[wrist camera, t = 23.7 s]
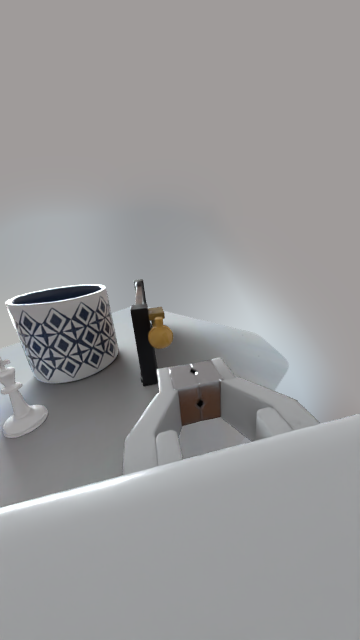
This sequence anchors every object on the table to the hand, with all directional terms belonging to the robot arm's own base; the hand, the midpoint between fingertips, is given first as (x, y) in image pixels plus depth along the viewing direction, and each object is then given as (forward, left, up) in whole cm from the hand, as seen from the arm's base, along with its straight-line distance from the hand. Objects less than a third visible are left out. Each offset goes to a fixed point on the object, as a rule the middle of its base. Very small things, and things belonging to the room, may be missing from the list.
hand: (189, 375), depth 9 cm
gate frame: (+2, -34, -15) cm, 37 cm away
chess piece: (+20, -17, -15) cm, 30 cm away
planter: (+17, -32, -15) cm, 39 cm away
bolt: (0, -20, -7) cm, 21 cm away
